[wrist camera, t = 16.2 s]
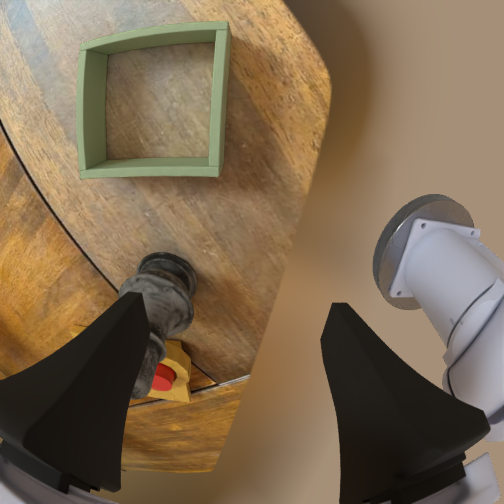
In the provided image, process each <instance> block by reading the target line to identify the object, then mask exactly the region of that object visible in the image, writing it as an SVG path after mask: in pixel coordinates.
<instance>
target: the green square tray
mask: <svg viewBox="0 0 504 504" xmlns="http://www.w3.org/2000/svg"><path fill="white" fill-rule="evenodd" d="M231 39H232V34H231V30H230V26H229V22H228V21H209V22H190V23H179V24H169V25H161V26H154V27H148V28H142V29H136V30H131V31H126V32H122V33H117V34H113V35H109V36H105V37H101V38H98V39H94V40H91V41H88V42H84V43H81V44H80V52H79V61H78V73H77V92H76V129H77V149H78V162H79V170H80V179H93V178H111V177H139V176H201V177H219V175H220V173H221V171H222V168H223V166H224V147H225V126H226V108H227V92H228V77H229V64H230V51H231ZM203 42H215V53H214V66H213V80H212V96H211V115H210V139H209V158H203V157H167V158H136V159H118V160H107V155H106V130H105V99H106V75H107V62H108V55H110V54H114V53H119V52H124V51H129V50H135V49H141V48H148V47H155V46H163V45H173V44H184V43H203Z"/></svg>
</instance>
